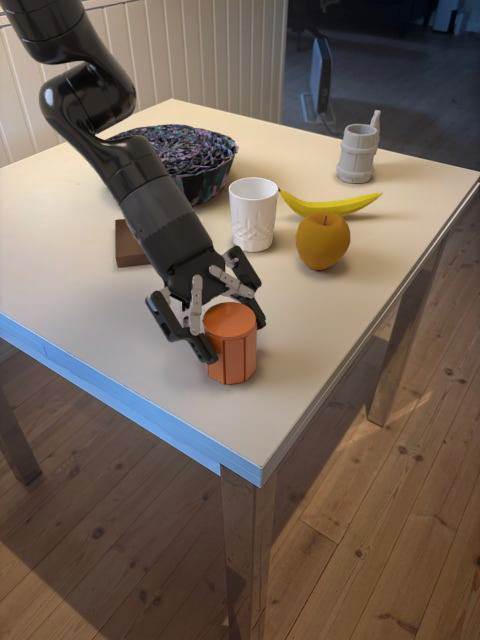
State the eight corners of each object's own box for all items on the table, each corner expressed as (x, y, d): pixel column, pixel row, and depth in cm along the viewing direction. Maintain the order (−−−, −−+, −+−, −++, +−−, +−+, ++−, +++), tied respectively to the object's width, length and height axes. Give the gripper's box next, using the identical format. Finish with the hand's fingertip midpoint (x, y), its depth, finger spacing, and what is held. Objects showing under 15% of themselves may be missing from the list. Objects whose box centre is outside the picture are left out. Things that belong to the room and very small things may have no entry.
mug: (328, 177, 103) (335, 119, 95) (357, 159, 109) (366, 103, 101) (360, 187, 99) (370, 128, 91) (388, 168, 106) (399, 111, 98)
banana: (379, 221, 89) (386, 189, 85) (275, 223, 89) (277, 191, 84) (375, 213, 91) (382, 181, 87) (274, 215, 91) (275, 184, 86)
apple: (334, 287, 74) (342, 237, 68) (284, 271, 77) (287, 222, 72) (353, 259, 80) (361, 210, 74) (305, 245, 83) (310, 198, 77)
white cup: (280, 233, 86) (282, 180, 79) (270, 257, 80) (272, 202, 74) (237, 227, 88) (236, 174, 81) (224, 250, 82) (222, 196, 75)
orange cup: (210, 387, 59) (206, 340, 54) (203, 352, 64) (199, 305, 59) (259, 379, 60) (261, 332, 55) (249, 345, 65) (249, 298, 60)
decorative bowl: (144, 161, 114) (135, 118, 107) (256, 169, 105) (254, 121, 99) (83, 213, 95) (67, 164, 89) (212, 227, 87) (205, 174, 81)
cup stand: (117, 267, 79) (108, 223, 73) (117, 229, 87) (108, 188, 82) (191, 258, 80) (187, 215, 75) (183, 222, 89) (179, 181, 84)
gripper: (125, 239, 50) (209, 373, 51) (224, 191, 57) (294, 309, 59) (105, 261, 56) (180, 381, 58) (197, 216, 64) (261, 322, 65)
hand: (238, 344), depth 58 cm, fingers open, 7 cm apart
